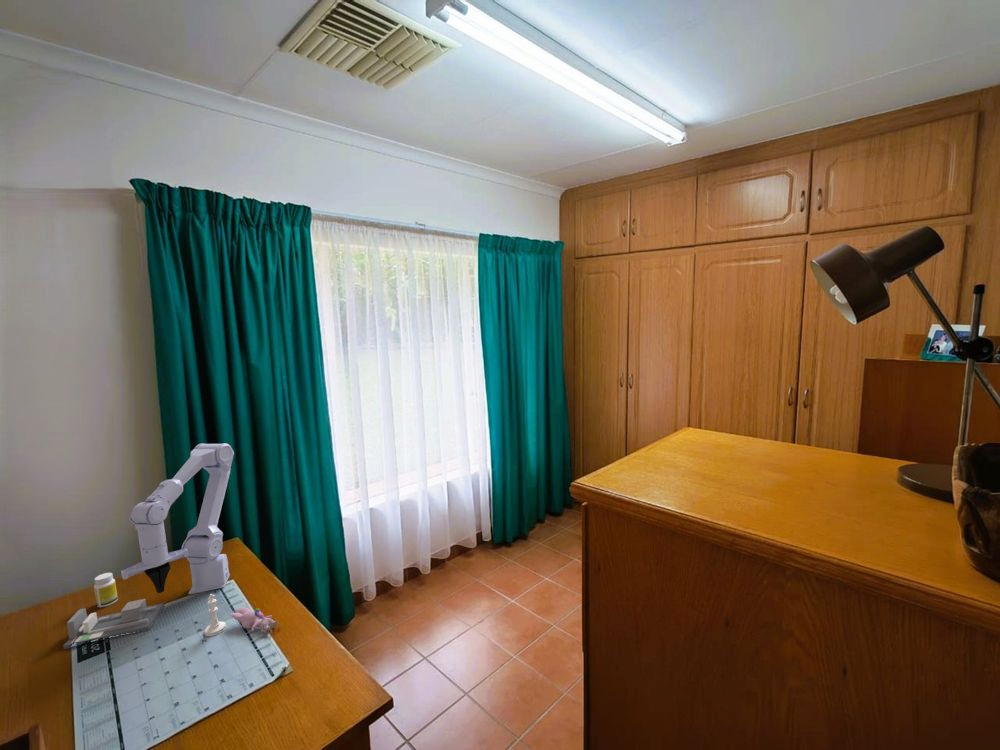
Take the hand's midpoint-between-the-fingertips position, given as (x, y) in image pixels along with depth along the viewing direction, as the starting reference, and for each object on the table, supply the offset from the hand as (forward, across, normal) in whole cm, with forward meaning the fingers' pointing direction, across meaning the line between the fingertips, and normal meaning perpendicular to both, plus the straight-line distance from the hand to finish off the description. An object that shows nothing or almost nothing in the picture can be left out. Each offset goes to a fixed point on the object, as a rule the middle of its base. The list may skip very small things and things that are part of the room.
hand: (160, 591), depth 124 cm
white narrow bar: (+6, +15, -7) cm, 17 cm away
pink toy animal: (+8, -14, +26) cm, 31 cm away
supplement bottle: (+8, +9, -22) cm, 25 cm away
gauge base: (+7, +9, -5) cm, 13 cm away
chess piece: (+8, -7, +19) cm, 22 cm away
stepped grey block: (+6, +7, -4) cm, 10 cm away
